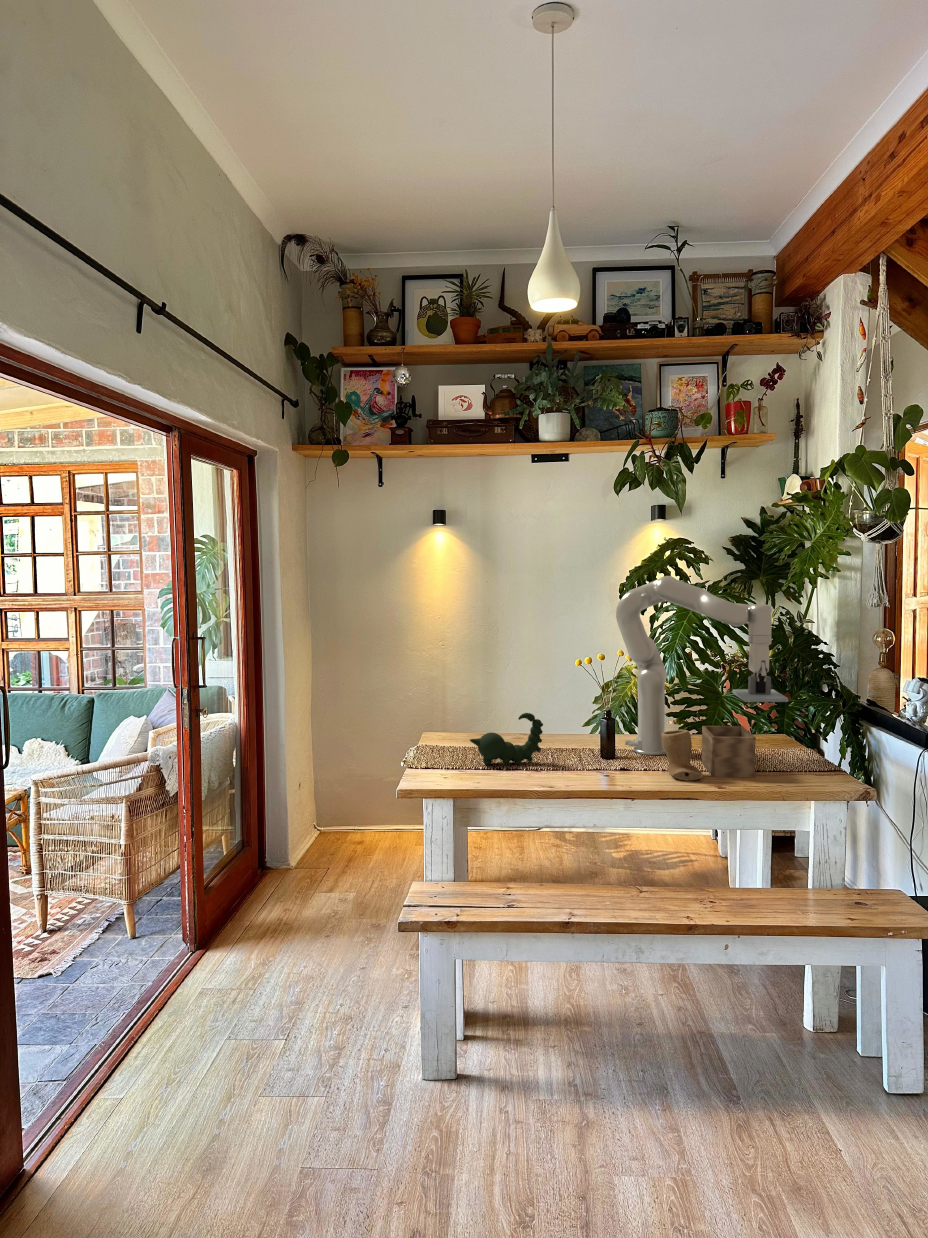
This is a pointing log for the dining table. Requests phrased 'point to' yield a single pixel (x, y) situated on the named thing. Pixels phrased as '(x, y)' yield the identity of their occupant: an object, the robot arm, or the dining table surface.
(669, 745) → the tan boot
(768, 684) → the lid
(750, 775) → the crate
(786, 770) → the dining table surface
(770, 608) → the robot arm
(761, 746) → the dining table surface
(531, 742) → the toy figurine
